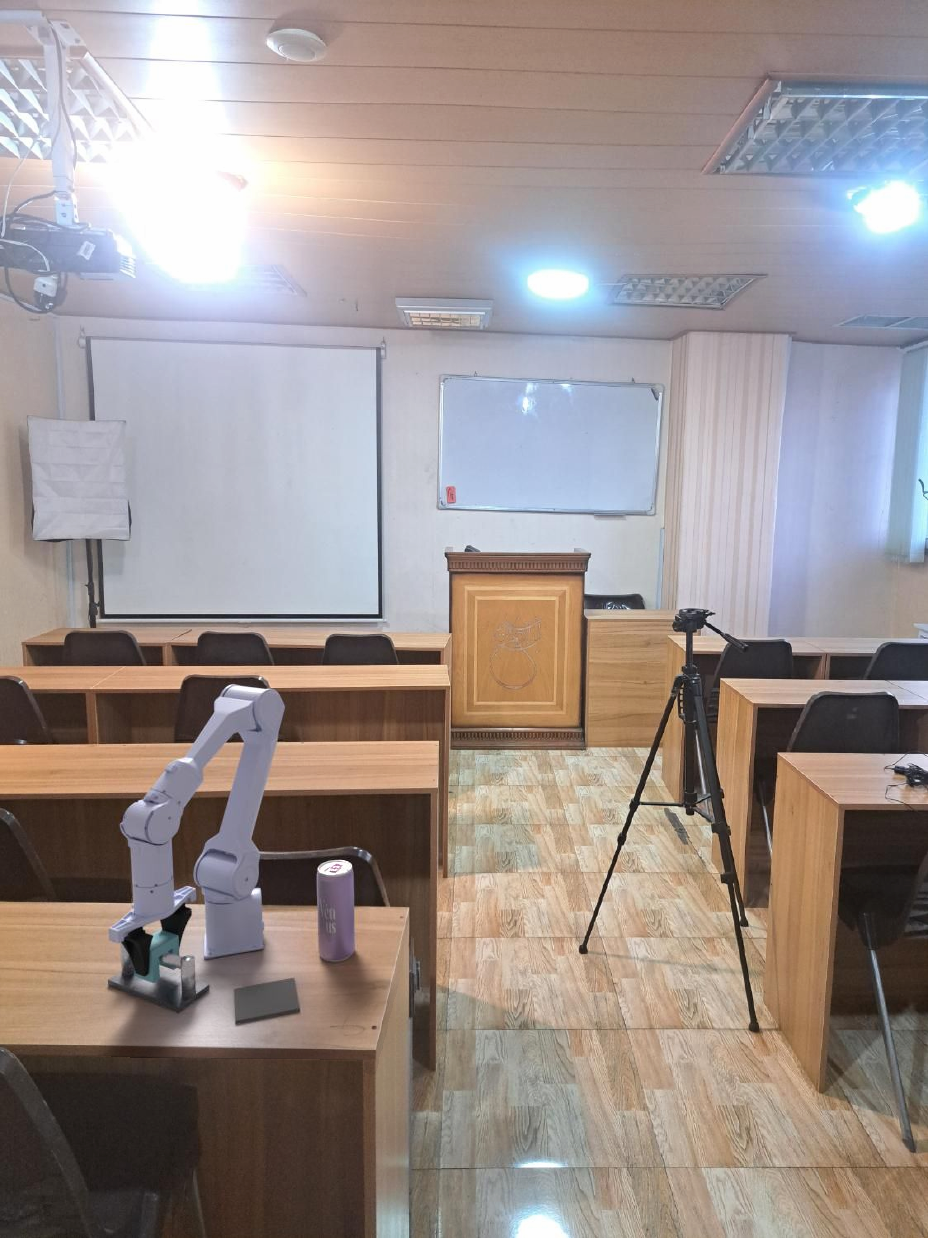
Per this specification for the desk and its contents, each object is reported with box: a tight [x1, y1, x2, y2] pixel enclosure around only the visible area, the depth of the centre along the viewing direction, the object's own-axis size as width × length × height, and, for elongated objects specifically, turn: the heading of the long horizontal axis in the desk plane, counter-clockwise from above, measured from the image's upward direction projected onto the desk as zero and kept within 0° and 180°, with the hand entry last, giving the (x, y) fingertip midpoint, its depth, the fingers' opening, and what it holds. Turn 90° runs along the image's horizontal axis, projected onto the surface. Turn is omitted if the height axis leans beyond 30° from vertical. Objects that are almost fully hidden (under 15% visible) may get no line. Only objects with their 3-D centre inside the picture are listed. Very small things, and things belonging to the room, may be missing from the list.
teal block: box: [134, 929, 180, 983], centre depth 113 cm, size 5×4×5 cm
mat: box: [233, 977, 301, 1025], centre depth 110 cm, size 9×8×1 cm
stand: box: [107, 942, 210, 1014], centre depth 113 cm, size 6×15×6 cm, turn 64°
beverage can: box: [316, 859, 356, 963], centre depth 122 cm, size 6×6×15 cm
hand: (157, 964), depth 113 cm, fingers closed on teal block, 5 cm apart
